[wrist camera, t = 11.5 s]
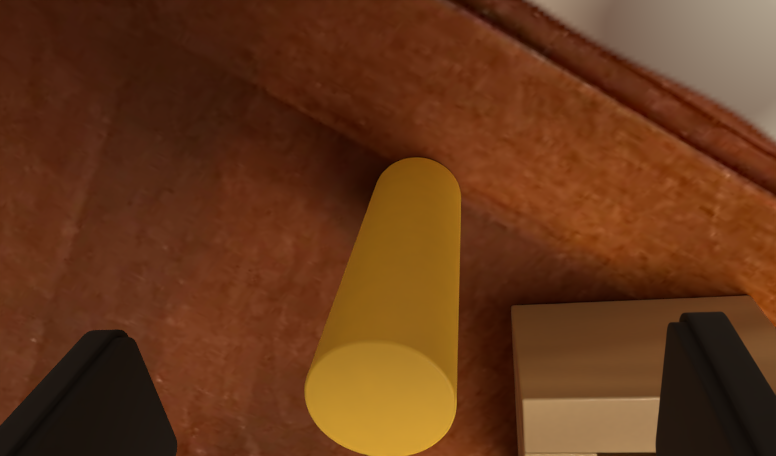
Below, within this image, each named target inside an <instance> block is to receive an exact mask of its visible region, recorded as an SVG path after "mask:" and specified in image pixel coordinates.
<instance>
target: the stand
mask: <svg viewBox="0 0 776 456" xmlns="http://www.w3.org/2000/svg"><path fill="white" fill-rule="evenodd" d="M720 311H721V312H723V313H725V315H726V316H727V317H728V319H729V320H730V322H731V324H732V325H733V327H734V328H735V330H736V332H737V333H738V335H739V337H740V338H741V340H742V341H743V343H744V345H745V346H746V348H747V350H748V351H749V353H750V354H751V356H752V358H753V359H754V361H755V362H756V364H757V366H758V367H759V369H760V371H761V372H762V374H763V375H764V377H765V379H766V380H767V382H768V383H769V385H770V387H771V388H772V390H773V392H774V393H775V395H776V328H775V327H774V325H773V324H772V323H771V321H770V320H769V319H768V318H767V316H766V315H765V314H764V313H763V311H762V310H761V309H760V307H759V306H758V305H757V304H756V302H755V301H754V300H753V298H752V297H751V296H748V295H747V296H724V297H700V298H677V299H654V300H630V301H607V302H583V303H560V304H536V305H513V306H511V322H512V342H513V362H514V383H515V403H516V423H517V444H518V456H656V447H655V443H656V432H657V422H658V412H659V403H660V393H661V383H662V373H663V364H664V354H665V344H666V334H667V327H668V324H669V323H670V322H679V319H680V316H681V314H682V313H687V312H720Z"/></svg>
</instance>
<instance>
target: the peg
mask: <svg viewBox="0 0 776 456" xmlns="http://www.w3.org/2000/svg"><path fill="white" fill-rule="evenodd" d="M460 226H461V192H460V188H459V185H458V183H457V180H456V179H455V177H454V176H453V174H452V173H451V172H450V171H449V170H448V169H447V168H446V167H444V166H443V165H441V164H440V163H438V162H436V161H433V160H431V159H427V158H420V157H412V158H406V159H402V160H400V161H397V162H395V163H394V164H392V165H390V166H389V167H388V168H387V169H386V170H385V171H384V172H383V173H382V174H381V176H380V177H379V179H378V181H377V184H376V186H375V189H374V192H373V195H372V197H371V200H370V203H369V206H368V209H367V211H366V214H365V217H364V220H363V222H362V225H361V228H360V231H359V233H358V236H357V239H356V242H355V244H354V247H353V250H352V253H351V256H350V258H349V261H348V264H347V267H346V269H345V272H344V275H343V278H342V280H341V283H340V286H339V289H338V291H337V294H336V297H335V300H334V303H333V305H332V308H331V311H330V314H329V316H328V319H327V322H326V325H325V327H324V330H323V333H322V336H321V338H320V341H319V344H318V347H317V350H316V352H315V355H314V358H313V361H312V363H311V366H310V369H309V372H308V374H307V377H306V381H305V386H304V395H305V401H306V405H307V408H308V411H309V413H310V415H311V417H312V419H313V420H314V422H315V423H316V425H317V426H318V427H319V428H320V429H321V430H322V431H323V432H324V433H325V434H326V435H327V436H328V437H329V438H331V439H332V440H334V441H335V442H337V443H338V444H340V445H342V446H343V447H346V448H348V449H350V450H352V451H355V452H358V453H361V454H365V455H369V456H408V455H412V454H416V453H418V452H421V451H424V450H425V449H427V448H429V447H431V446H433V445H434V444H435V443H437V442H438V441H439V440H440V439H441V438H442V437H443V436H444V435H445V434H446V433H447V431H448V430H449V428H450V427H451V425H452V423H453V420H454V417H455V414H456V408H457V364H458V318H459V272H460Z"/></svg>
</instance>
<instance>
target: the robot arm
mask: <svg viewBox="0 0 776 456" xmlns="http://www.w3.org/2000/svg"><path fill="white" fill-rule="evenodd" d="M655 447H656V456H776V395H775V393H774V392H773V390H772V388H771V387H770V385H769V383H768V382H767V380H766V379H765V377H764V375H763V374H762V372H761V371H760V369H759V367H758V366H757V364H756V362H755V361H754V359H753V358H752V356H751V354H750V353H749V351H748V350H747V348H746V346H745V345H744V343H743V341H742V340H741V338H740V337H739V335H738V333H737V332H736V330H735V328H734V327H733V325H732V324H731V322H730V320H729V319H728V317H727V316H726V315H725V313H723V312H721V311H720V312H687V313H682V314H681V316H680V319H679V322H670V323H669V324H668V327H667V334H666V344H665V354H664V364H663V373H662V383H661V393H660V403H659V412H658V422H657V432H656V443H655ZM176 452H177V440H176V437H175V435H174V432H173V430H172V427H171V425H170V423H169V420H168V418H167V415H166V413H165V411H164V408H163V406H162V404H161V401H160V399H159V396H158V394H157V392H156V389H155V387H154V384H153V382H152V380H151V377H150V375H149V372H148V370H147V368H146V365H145V363H144V361H143V358H142V356H141V353H140V351H139V349H138V346H137V344H136V342H135V340H134V339H132V338H130V337H128V335H127V333H125V332H124V331H123V330H93V331H89V332H87V333H86V334H85V335H84V336H83V337H82V338H81V339H80V340H79V341H78V342H77V343H76V344H75V345H74V346H73V348H72V349H71V350H70V351H69V352H68V353H67V354H66V355H65V356H64V357H63V358H62V359H61V361H60V362H59V363H58V364H57V365H56V366H55V367H54V368H53V369H52V370H51V371H50V372H49V374H48V375H47V376H46V377H45V378H44V379H43V380H42V381H41V382H40V383H39V384H38V385H37V387H36V388H35V389H34V390H33V391H32V392H31V393H30V394H29V395H28V396H27V397H26V398H25V400H24V401H23V402H22V403H21V404H20V405H19V406H18V407H17V408H16V409H15V410H14V411H13V413H12V414H11V415H10V416H9V417H8V418H7V419H6V420H5V421H4V422H3V423H2V424H1V426H0V456H176Z"/></svg>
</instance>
